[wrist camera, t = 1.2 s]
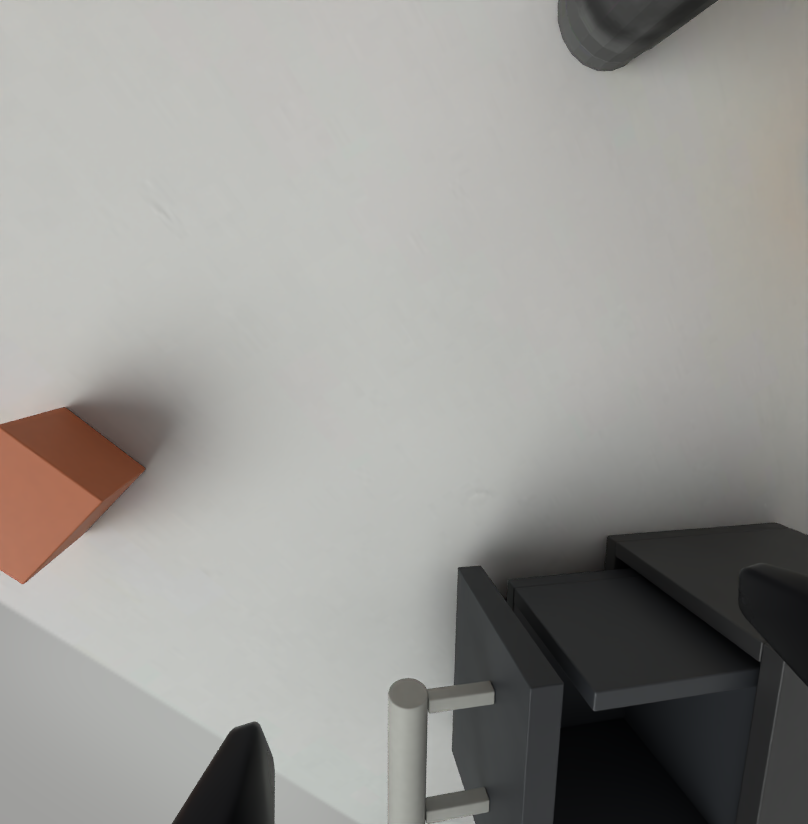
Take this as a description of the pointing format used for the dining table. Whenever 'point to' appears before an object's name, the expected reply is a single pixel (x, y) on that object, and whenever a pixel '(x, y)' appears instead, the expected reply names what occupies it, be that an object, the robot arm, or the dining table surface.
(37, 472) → the block
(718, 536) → the cabinet
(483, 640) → the drawer
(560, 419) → the dining table surface
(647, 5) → the beverage cup
